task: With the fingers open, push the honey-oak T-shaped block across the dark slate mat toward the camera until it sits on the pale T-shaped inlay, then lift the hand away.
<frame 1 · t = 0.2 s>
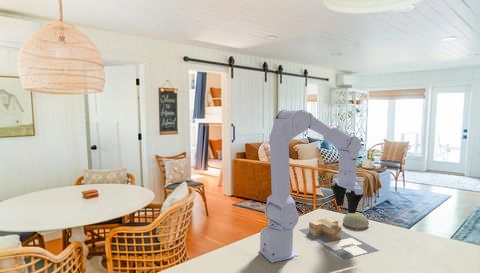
hand: (345, 209, 103), 10 cm above the table, tool pointing down, fingers open, 7 cm apart
T block: (323, 232, 107), resting on T board
T board: (336, 240, 101), on the table
sea urchin shell: (355, 226, 114), on the table
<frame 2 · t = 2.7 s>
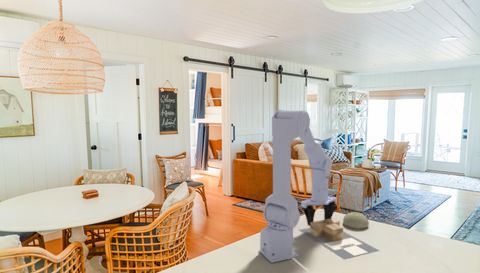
hand: (318, 224, 109), 2 cm above the table, tool pointing down, fingers open, 7 cm apart
T block: (324, 232, 106), point 1 cm above the table, touching T board, gripper
everything else where it was.
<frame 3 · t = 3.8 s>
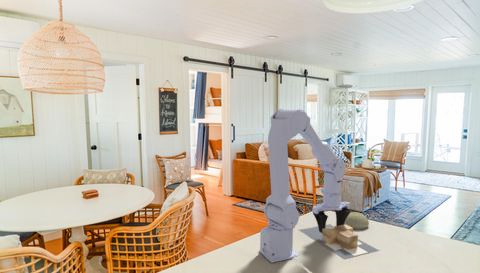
hand: (330, 230, 103), 2 cm above the table, tool pointing down
T block: (337, 239, 100), point 1 cm above the table, touching gripper
everything else where it was.
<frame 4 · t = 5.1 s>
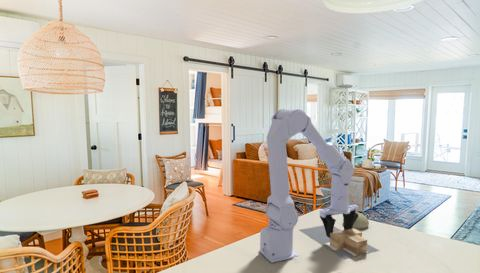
hand: (338, 235, 100), 2 cm above the table, tool pointing down
T block: (345, 244, 97), point 1 cm above the table, touching T board, gripper
everything else where it was.
when the fingers open (2 cm above the table, at t = 5.5 s): T block stays where it is, resting on T board.
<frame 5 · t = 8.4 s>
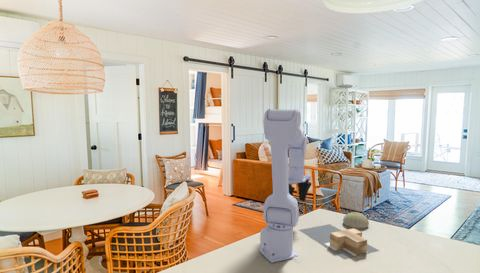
hand: (295, 202, 112), 9 cm above the table, tool pointing down, fingers open, 7 cm apart
T block: (345, 244, 97), point 1 cm above the table, touching T board
everything else where it was.
at the end: T block 0.6 cm from the target spot on the T board, point 0.5 cm above the T board's base; T block tilted 0°; T block moved 10.8 cm from its start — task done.
